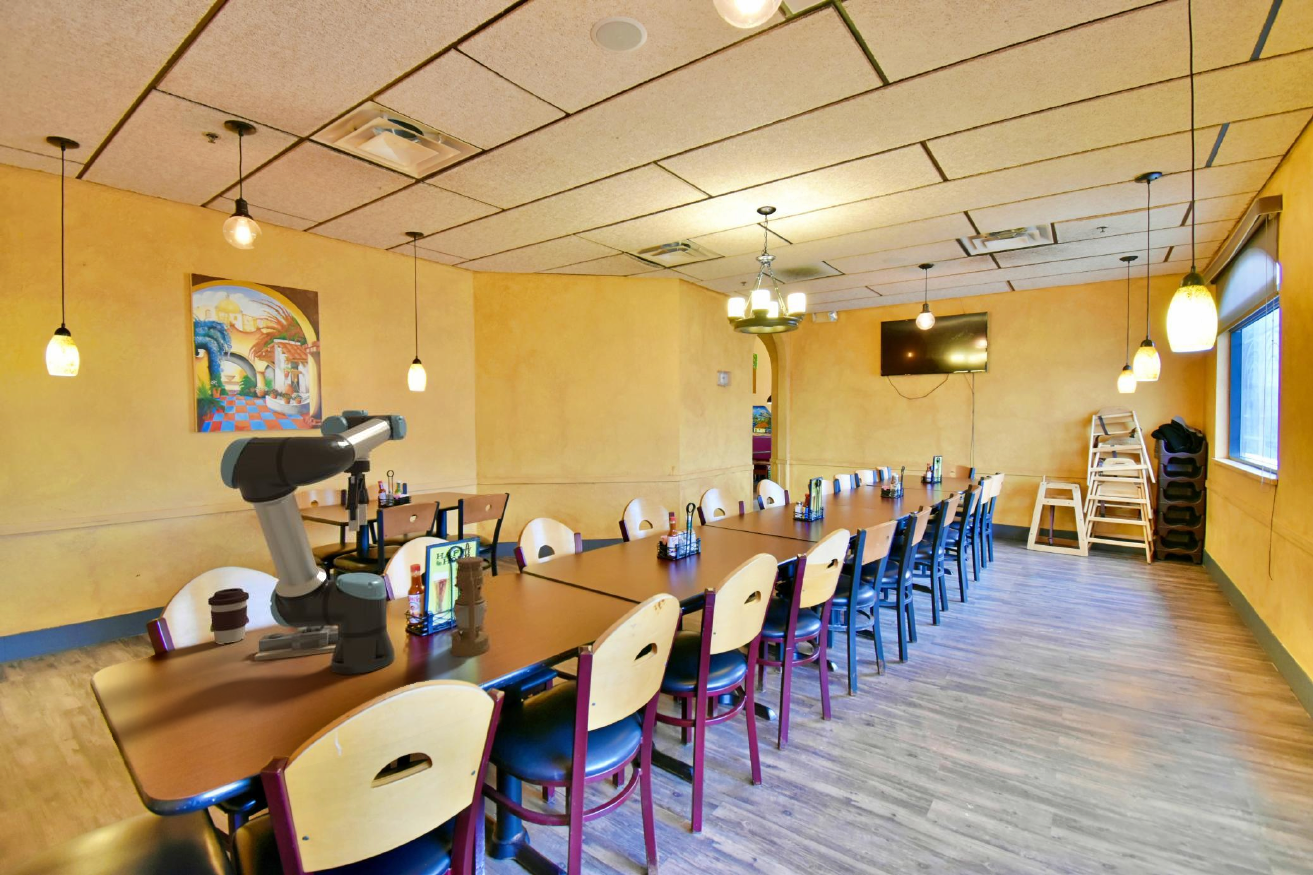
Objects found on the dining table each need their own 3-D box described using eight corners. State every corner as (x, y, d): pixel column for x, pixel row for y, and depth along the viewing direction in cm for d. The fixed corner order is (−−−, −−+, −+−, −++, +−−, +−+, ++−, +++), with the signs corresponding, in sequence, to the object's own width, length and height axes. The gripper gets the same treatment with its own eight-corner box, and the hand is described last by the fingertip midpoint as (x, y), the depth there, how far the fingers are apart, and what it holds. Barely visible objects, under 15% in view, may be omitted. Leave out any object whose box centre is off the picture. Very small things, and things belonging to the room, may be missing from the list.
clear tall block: (319, 644, 172) (318, 602, 172) (305, 646, 171) (304, 603, 171) (322, 640, 176) (321, 599, 176) (308, 641, 175) (307, 600, 175)
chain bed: (359, 649, 171) (359, 630, 171) (254, 660, 164) (254, 641, 164) (367, 635, 183) (366, 618, 183) (269, 646, 176) (268, 628, 176)
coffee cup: (257, 637, 183) (256, 588, 183) (222, 648, 174) (220, 596, 174) (237, 633, 188) (235, 585, 187) (202, 644, 179) (200, 593, 178)
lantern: (441, 647, 171) (438, 541, 171) (476, 638, 178) (473, 536, 178) (463, 662, 160) (460, 548, 160) (499, 652, 167) (497, 543, 166)
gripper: (362, 461, 178) (364, 533, 178) (376, 458, 202) (377, 521, 202) (334, 461, 176) (336, 534, 176) (351, 458, 200) (352, 523, 200)
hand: (358, 527), depth 189 cm, fingers open, 13 cm apart
